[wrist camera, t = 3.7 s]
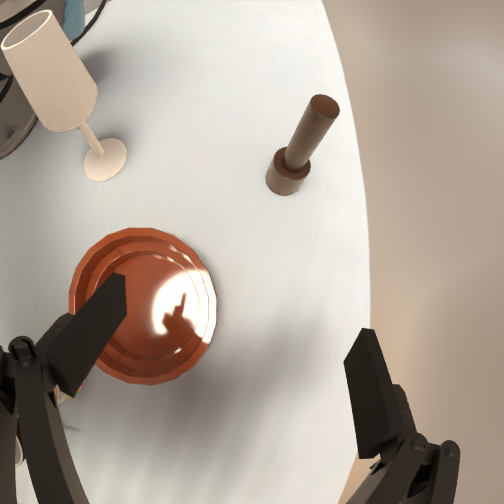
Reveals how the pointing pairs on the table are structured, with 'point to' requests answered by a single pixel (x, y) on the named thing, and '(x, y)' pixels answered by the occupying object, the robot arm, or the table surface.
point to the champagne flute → (60, 88)
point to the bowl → (150, 304)
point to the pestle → (301, 146)
